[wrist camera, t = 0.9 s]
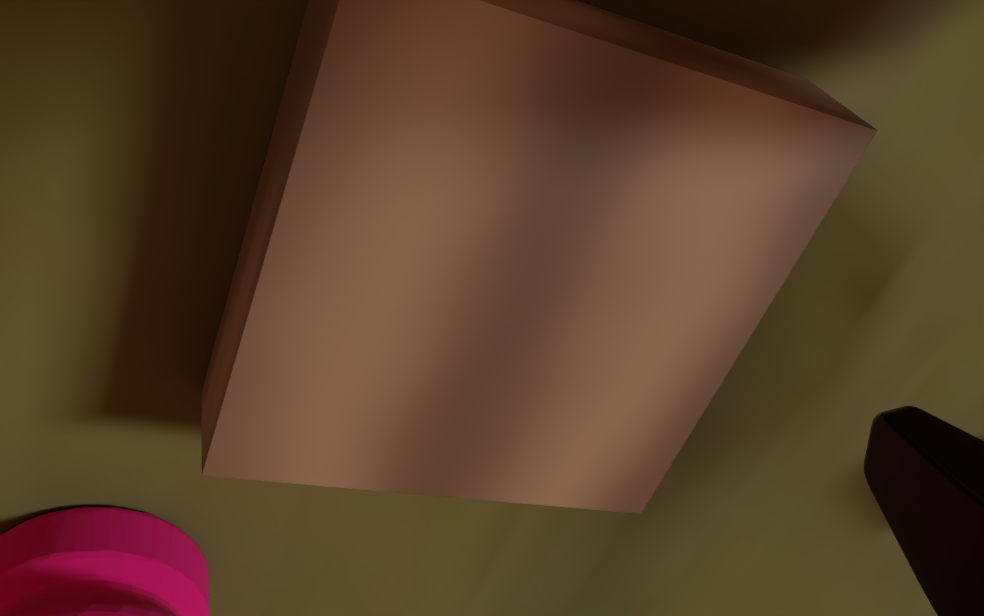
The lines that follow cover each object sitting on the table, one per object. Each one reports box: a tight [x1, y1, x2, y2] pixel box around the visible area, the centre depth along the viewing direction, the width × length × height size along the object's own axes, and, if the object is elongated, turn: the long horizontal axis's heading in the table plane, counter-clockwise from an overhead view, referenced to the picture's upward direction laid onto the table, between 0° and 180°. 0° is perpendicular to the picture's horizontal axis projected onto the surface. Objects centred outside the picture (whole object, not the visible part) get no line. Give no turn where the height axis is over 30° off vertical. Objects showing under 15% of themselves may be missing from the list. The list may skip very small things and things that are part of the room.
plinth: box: [201, 0, 877, 514], centre depth 22 cm, size 12×12×3 cm
